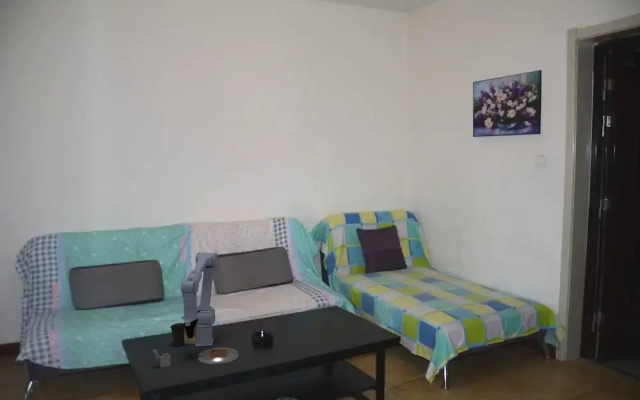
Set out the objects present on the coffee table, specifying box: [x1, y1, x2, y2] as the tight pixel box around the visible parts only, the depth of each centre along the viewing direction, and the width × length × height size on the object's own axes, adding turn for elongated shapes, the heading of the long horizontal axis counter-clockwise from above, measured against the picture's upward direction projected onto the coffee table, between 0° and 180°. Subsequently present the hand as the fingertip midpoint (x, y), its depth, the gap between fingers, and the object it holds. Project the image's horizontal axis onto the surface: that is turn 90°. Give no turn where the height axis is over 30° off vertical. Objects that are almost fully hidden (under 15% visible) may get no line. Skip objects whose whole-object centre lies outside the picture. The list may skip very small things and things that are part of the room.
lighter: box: [152, 348, 172, 368], centre depth 220 cm, size 7×2×8 cm, turn 117°
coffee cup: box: [169, 322, 186, 347], centre depth 246 cm, size 8×8×10 cm
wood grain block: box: [184, 326, 197, 345], centre depth 230 cm, size 3×5×7 cm, turn 93°
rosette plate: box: [197, 347, 240, 366], centre depth 230 cm, size 18×18×2 cm
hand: (191, 336), depth 230 cm, fingers closed on wood grain block, 3 cm apart
